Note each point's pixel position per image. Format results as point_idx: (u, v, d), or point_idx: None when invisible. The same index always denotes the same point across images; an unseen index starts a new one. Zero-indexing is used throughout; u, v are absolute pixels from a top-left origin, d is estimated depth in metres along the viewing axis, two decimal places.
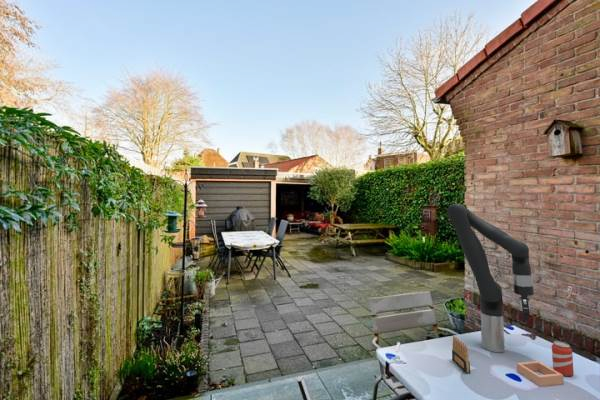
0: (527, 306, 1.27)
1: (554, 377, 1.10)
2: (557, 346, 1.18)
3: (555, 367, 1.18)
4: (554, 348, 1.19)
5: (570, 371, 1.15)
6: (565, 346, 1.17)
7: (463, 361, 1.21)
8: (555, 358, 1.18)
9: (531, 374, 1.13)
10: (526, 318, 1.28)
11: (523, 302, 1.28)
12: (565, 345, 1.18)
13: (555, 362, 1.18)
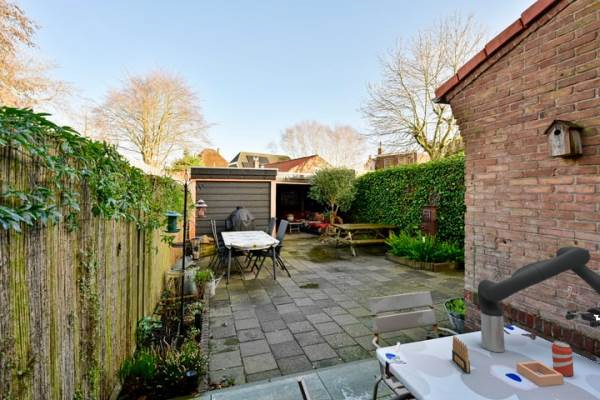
0: None
1: (554, 377, 1.10)
2: (557, 346, 1.18)
3: (555, 367, 1.18)
4: (554, 348, 1.19)
5: (570, 371, 1.15)
6: (565, 346, 1.17)
7: (463, 361, 1.21)
8: (555, 358, 1.18)
9: (531, 374, 1.13)
10: None
11: None
12: (565, 345, 1.18)
13: (555, 362, 1.18)
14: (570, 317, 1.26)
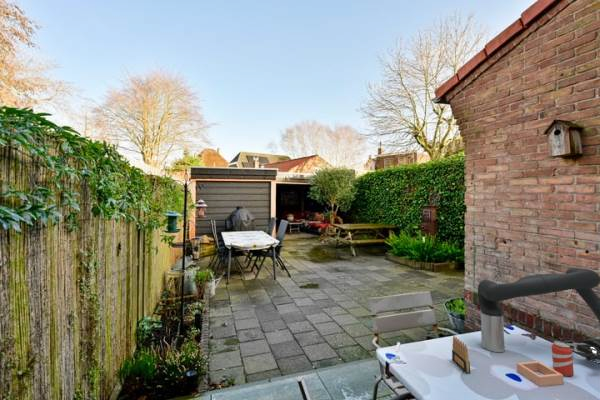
0: None
1: (554, 377, 1.10)
2: (557, 346, 1.18)
3: (555, 367, 1.18)
4: (554, 348, 1.19)
5: (570, 371, 1.15)
6: (565, 346, 1.17)
7: (463, 361, 1.21)
8: (555, 358, 1.18)
9: (531, 374, 1.13)
10: None
11: None
12: (565, 345, 1.18)
13: (555, 362, 1.18)
14: None
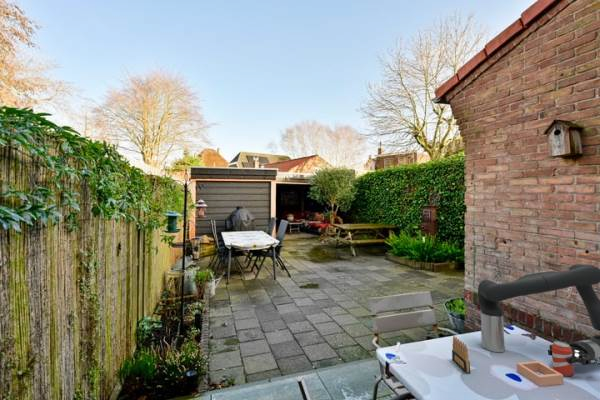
0: (590, 363, 1.13)
1: (554, 377, 1.10)
2: (557, 346, 1.18)
3: (555, 367, 1.18)
4: (554, 348, 1.19)
5: (570, 371, 1.15)
6: (565, 346, 1.17)
7: (463, 361, 1.21)
8: (555, 358, 1.18)
9: (531, 374, 1.13)
10: None
11: (593, 359, 1.14)
12: (565, 345, 1.18)
13: (555, 362, 1.18)
14: None
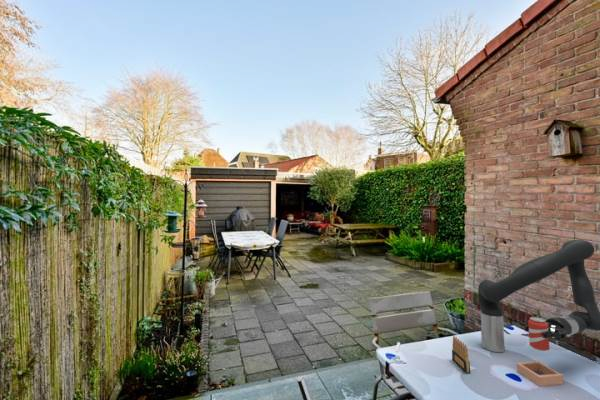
0: (565, 337, 1.11)
1: (554, 377, 1.10)
2: (533, 321, 1.16)
3: (531, 342, 1.16)
4: (530, 323, 1.17)
5: (546, 345, 1.13)
6: (541, 321, 1.15)
7: (463, 361, 1.21)
8: (531, 333, 1.16)
9: (531, 374, 1.13)
10: None
11: (568, 334, 1.12)
12: (541, 320, 1.16)
13: (531, 337, 1.16)
14: None
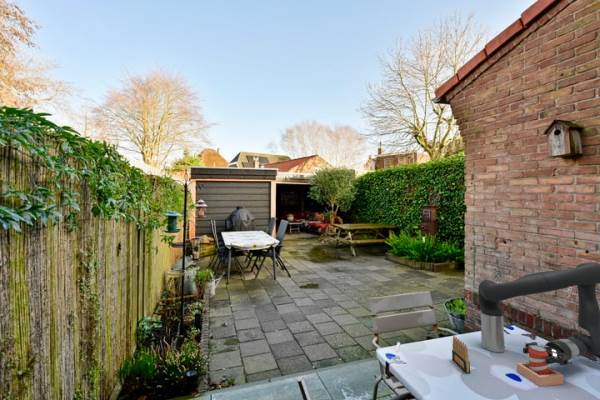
0: (567, 363, 1.11)
1: (554, 377, 1.10)
2: (533, 350, 1.15)
3: None
4: (530, 352, 1.16)
5: None
6: (541, 350, 1.14)
7: (463, 361, 1.21)
8: (531, 362, 1.16)
9: (531, 374, 1.13)
10: None
11: (570, 359, 1.11)
12: (542, 349, 1.15)
13: (531, 366, 1.16)
14: (528, 350, 1.20)
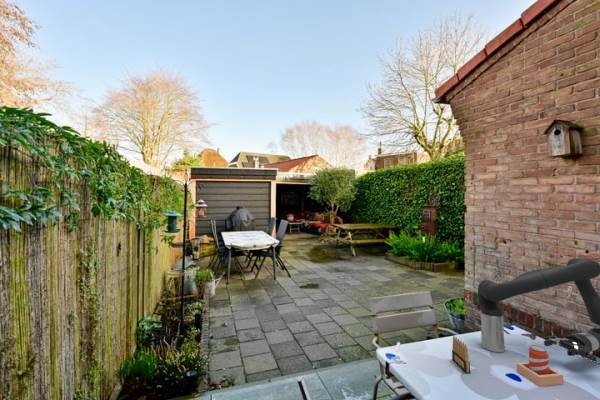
0: (589, 355, 1.14)
1: (554, 377, 1.10)
2: (533, 350, 1.15)
3: None
4: (530, 352, 1.16)
5: None
6: (541, 350, 1.14)
7: (463, 361, 1.21)
8: (531, 362, 1.16)
9: (531, 374, 1.13)
10: None
11: (591, 351, 1.15)
12: (542, 349, 1.15)
13: (531, 366, 1.16)
14: (549, 343, 1.23)
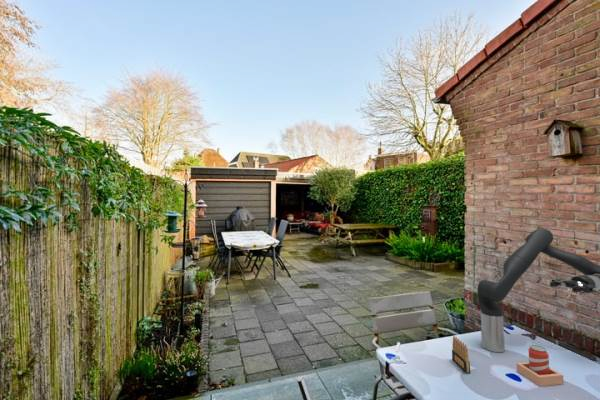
0: (593, 291, 1.22)
1: (554, 377, 1.10)
2: (533, 350, 1.15)
3: None
4: (530, 352, 1.16)
5: None
6: (541, 350, 1.14)
7: (463, 361, 1.21)
8: (531, 362, 1.16)
9: (531, 374, 1.13)
10: None
11: (594, 287, 1.22)
12: (542, 349, 1.15)
13: (531, 366, 1.16)
14: (554, 284, 1.31)
